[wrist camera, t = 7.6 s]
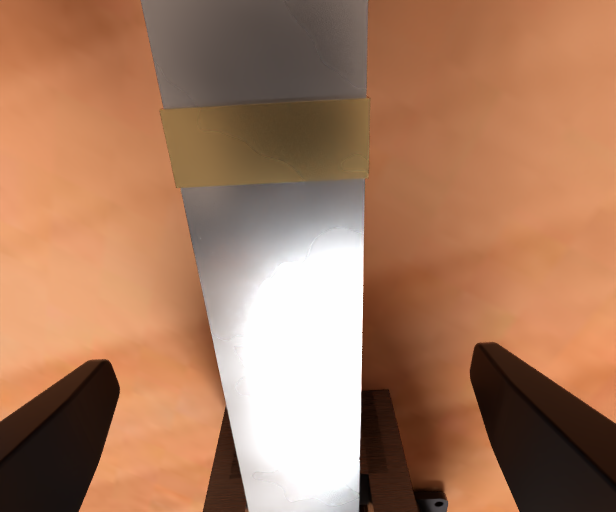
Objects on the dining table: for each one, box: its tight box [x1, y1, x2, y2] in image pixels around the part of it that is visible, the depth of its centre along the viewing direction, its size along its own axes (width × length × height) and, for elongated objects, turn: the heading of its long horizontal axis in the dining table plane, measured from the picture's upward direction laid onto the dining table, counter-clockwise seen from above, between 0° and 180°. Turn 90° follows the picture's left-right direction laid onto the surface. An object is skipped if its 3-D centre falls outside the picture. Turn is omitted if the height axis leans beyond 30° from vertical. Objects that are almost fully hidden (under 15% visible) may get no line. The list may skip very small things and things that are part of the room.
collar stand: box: [203, 390, 418, 512], centre depth 12 cm, size 20×8×7 cm, turn 3°
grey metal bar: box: [141, 0, 370, 512], centre depth 10 cm, size 22×3×3 cm, turn 3°
